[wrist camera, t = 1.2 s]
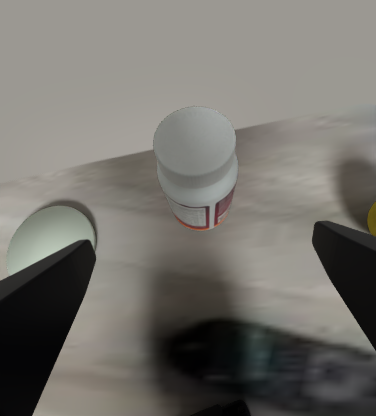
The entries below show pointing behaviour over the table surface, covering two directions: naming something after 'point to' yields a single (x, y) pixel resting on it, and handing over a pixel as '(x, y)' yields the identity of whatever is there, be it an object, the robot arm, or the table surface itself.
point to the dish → (47, 235)
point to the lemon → (372, 219)
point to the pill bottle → (197, 165)
